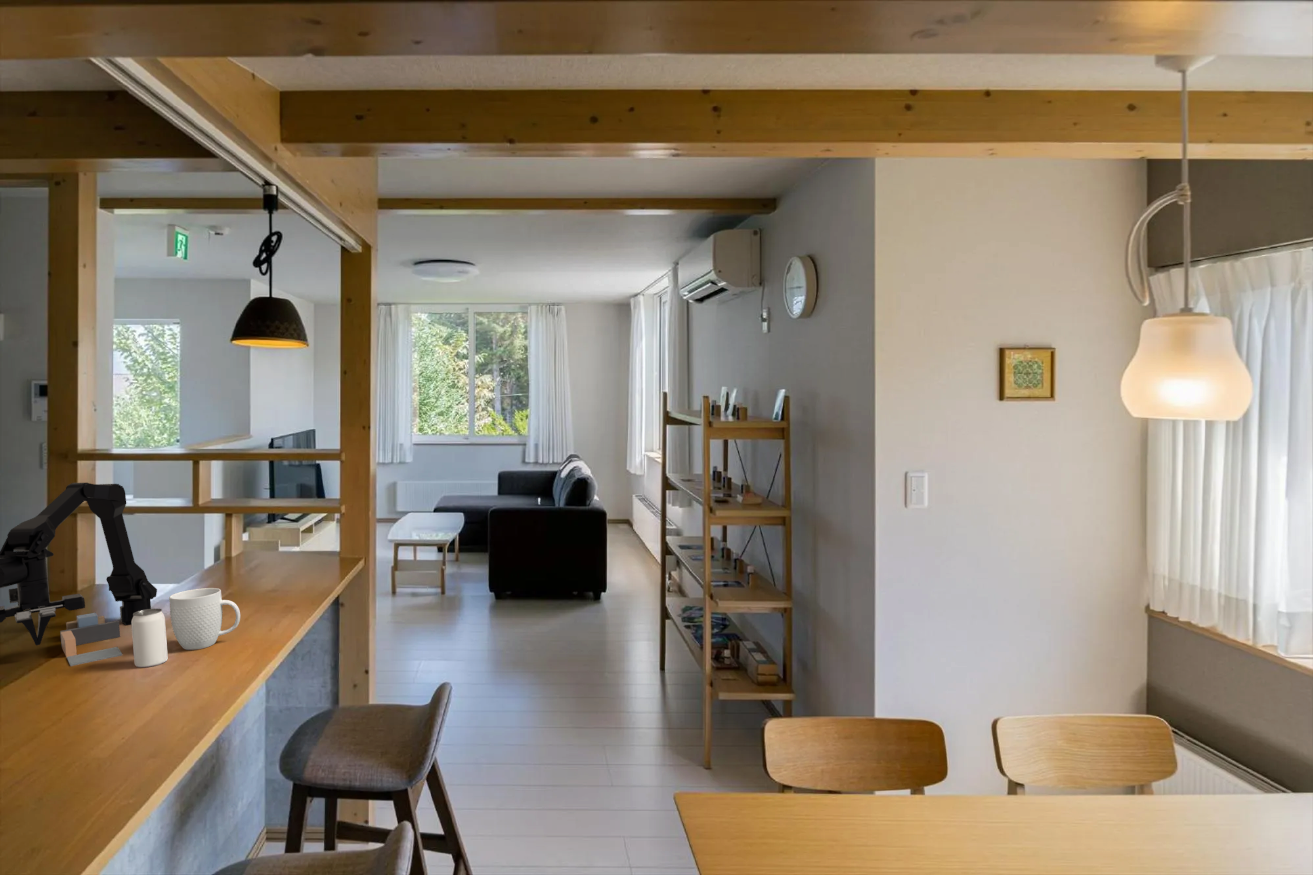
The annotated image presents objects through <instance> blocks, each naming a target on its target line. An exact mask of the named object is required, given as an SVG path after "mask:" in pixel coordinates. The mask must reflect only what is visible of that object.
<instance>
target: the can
mask: <svg viewBox="0 0 1313 875" xmlns="http://www.w3.org/2000/svg"><path fill="white" fill-rule="evenodd" d="M162 611H163V609H162V608H151V609H147V610H142V611H138V612H135V613H133V615H134V616H133V618H132V621H131V624H132V625H131V636H132V647H133V659H134V660H133V661H134V666H136V667H137V668H140V669H141V668H144V669H145V668H151V667H156V666H160V665H163V664H164V663H166V662H167V660H168V658H169V655H168V644H167V631H166V630H167V629H166V617H165V614H164V613H163V612H162Z"/></svg>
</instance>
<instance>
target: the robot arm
mask: <svg viewBox="0 0 1313 875" xmlns="http://www.w3.org/2000/svg"><path fill="white" fill-rule="evenodd" d="M126 496H127V495H126V490H125V488H124V487H123V485H121V484H119V483H98V484H96V483H91V482H72V483H70V484H67V485H66V487H65V490H63V491H62V492H61V493H60V494H59V495H58V496H57V497H56V498H55V499H54V500H53V501H52V502H50V503H49V505H47V506H46V507H45V508H44V509H43V510H42V511H40V513H37V514H38V515H35V517H33V518H30V519H28V520H24V521H22V522H21V523H19V524H17V525H16V526H14V527H13V528H11V529H9V532H8V533H7V537H6V539H5V541H4V543H3V545H2V547H1V549H0V589H4V588H7V587H11V586H14V585H16V586H17V587H16V588H9V589H8V599H9V600H8V601H9V603H10V604H14V603H17V606H18V607H11V608H5V605H2V606H1V605H0V624H1V623H3V622H4V621H5V620H6V618H9V617H14V619H15V622H16V624H22V625H23V627H25V629H27V631H28V632H29V635H30V636H31V639H32V640H33V642H34V644H35V646H40V645H41V643H42V640H43V637H44V635H45V632H46V629H47V626H48V624H49V622H50V621H51V618H56V616H57V614H56V610H58V609H64V608H65V609H66V610H67V611H70V612H71V611H76V610H82V609H85V608H86V602H85V601H86V600H85V597H84V596H83V595H82V594H80V593H76V594H75V593H74V594H68V595H62V596H61V597H62V598H61V600H54V601H51V600H50V590H49V589H50V588H49V580H48V566H47V565H48V564H47V558H49V557H50V558H51V557H53V556H54V552H52V551H50V550H48V549H47V547H48V546H49V545H50V544H51V542H52V541H53V539H54V538H55V537H56V531H57V530H56V529H58V527H59V526H60V525H61V524H62V523H63V522H64V521H65V520H67V518H68V517H70V515H71V514H73V513H74V512H75V511H76V510H77V509H78V508H79V507H80V506H81V505H82V504H83V503H84V502H86V503H87V505H88V508H89V509H90V511H91V512H93V514H94V515H95V516H96V517H98V518H99V520H100V524H101V528H102V530H103V531H102V532H103V534H104V538H105V541H106V545H107V546H106V547H107V549H108V550H107V551H108V554H109V557H110V561H111V565H112V571H111V573H110V575H108V576H106V582H107V584H108V591H110V593H111V594H112V596H113V598H114V602H117V603H118V602H121V606H119V613H120V614H119V616H120V617H119V618H120V622H121V623H123V624H124V626H132V624H131V621H132V618H133V616H134V615H133V613H135V612H138V611H142V610H147V609H152V607H151V606H152V604H151V600H153V599H154V598H156V597H157V594H158V588H157V587H156V586H154V585H153V584H152V583H151V582H150V581H149V580H148V578H147V574H146V573H145V570H144V569H143V568H142V567H141V566H140V565H138V564H137V562H135V558H134V553H133V550H132V547H131V543H130V539H129V534H128V531H127V527H126V524H125V520H124V517H123V516H124V515H123V512H124V510H125V508H126V506H127V497H126ZM35 613H38V615H37V616H38V621H37V622H38V624H37V631H36V627H35V623H34V620H33V616H32V614H35Z"/></svg>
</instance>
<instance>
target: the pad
mask: <svg viewBox="0 0 1313 875" xmlns="http://www.w3.org/2000/svg"><path fill="white" fill-rule="evenodd" d="M121 656H123V653H122V652H121V650H120V649H119V647H118V646H114V647H109V648H105V649H99V650H94V651H89V652H84V653H79V654H77V655H74V656H69V657H66V660H67V662H68V664H69V666H70V667H73V666H78V665H82V664H88V663H92V662H96V661H97V662H98V661H102V660H106V659H112V658H116V657H121Z"/></svg>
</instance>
